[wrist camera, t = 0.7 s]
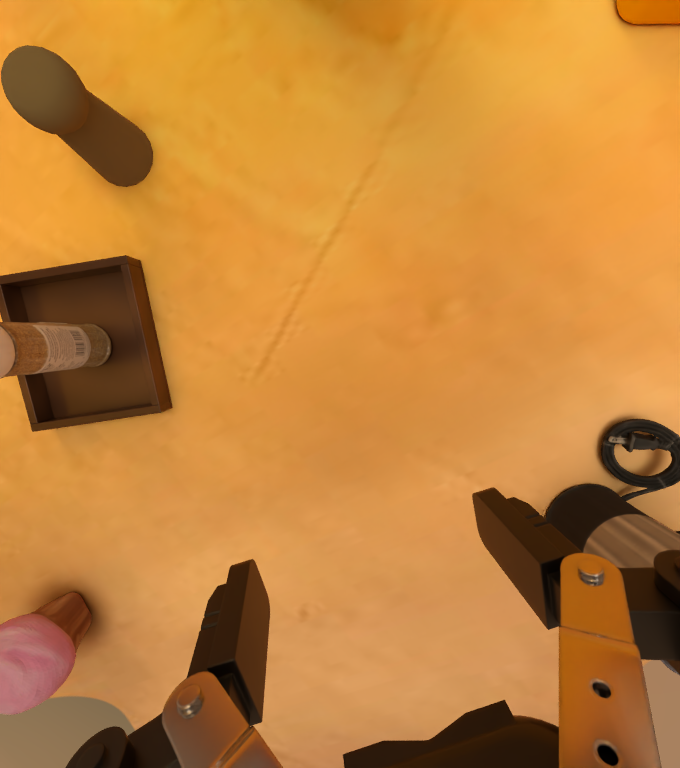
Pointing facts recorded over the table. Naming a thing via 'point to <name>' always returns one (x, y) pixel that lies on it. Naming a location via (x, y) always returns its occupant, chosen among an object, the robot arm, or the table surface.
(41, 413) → the tray
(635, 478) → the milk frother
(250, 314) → the table surface
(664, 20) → the element tile
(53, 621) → the cupcake
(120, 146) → the olive chess pawn
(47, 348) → the sprinkles bottle
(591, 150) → the table surface
